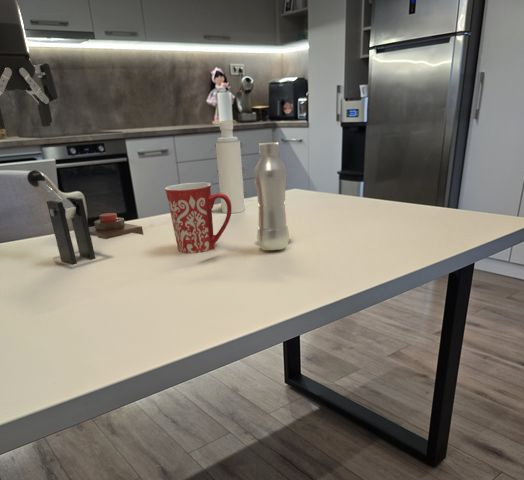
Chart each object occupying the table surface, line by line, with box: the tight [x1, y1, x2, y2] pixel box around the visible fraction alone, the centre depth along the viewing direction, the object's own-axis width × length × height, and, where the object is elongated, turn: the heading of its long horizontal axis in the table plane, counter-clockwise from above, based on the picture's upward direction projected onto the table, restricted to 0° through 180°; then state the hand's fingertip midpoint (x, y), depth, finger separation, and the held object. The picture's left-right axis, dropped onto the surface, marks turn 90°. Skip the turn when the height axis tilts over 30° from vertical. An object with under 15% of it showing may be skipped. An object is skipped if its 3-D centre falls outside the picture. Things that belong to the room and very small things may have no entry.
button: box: [99, 212, 118, 222], centre depth 115 cm, size 4×4×2 cm
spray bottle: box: [215, 120, 246, 214], centre depth 133 cm, size 7×7×25 cm
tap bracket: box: [46, 196, 96, 266], centre depth 92 cm, size 10×8×13 cm
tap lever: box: [26, 169, 76, 221], centre depth 92 cm, size 14×3×3 cm, turn 48°
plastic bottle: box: [253, 142, 290, 251], centre depth 93 cm, size 6×7×20 cm
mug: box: [164, 181, 232, 254], centre depth 95 cm, size 13×9×14 cm
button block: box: [89, 216, 144, 240], centre depth 117 cm, size 12×10×4 cm
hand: (24, 127), depth 90 cm, fingers open, 8 cm apart
